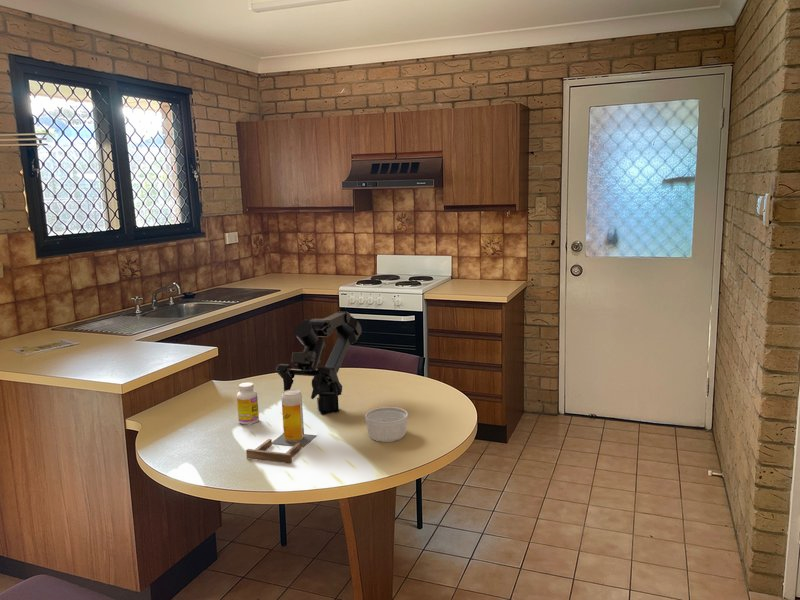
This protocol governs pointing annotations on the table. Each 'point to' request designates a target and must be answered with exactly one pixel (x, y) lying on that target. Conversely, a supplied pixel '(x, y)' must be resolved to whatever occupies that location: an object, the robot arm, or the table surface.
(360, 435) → the table surface
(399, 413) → the ramekin
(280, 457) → the frame
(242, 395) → the supplement bottle
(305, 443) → the mat
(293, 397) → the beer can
